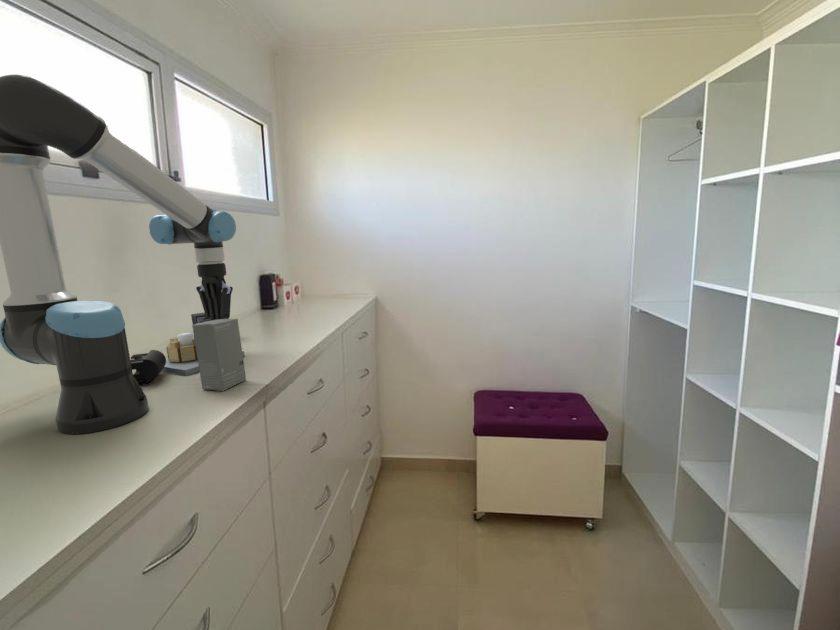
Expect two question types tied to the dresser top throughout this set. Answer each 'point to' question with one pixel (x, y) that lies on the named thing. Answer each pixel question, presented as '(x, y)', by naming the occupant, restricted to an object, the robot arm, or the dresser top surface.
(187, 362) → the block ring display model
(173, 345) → the gold ring with handle
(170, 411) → the dresser top surface
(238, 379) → the grey rectangular box
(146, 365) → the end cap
